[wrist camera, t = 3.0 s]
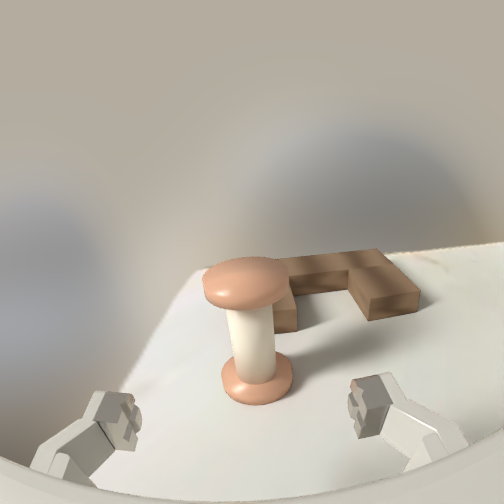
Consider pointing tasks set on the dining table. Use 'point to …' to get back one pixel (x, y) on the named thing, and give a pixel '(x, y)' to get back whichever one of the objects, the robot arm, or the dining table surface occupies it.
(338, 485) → the dining table surface
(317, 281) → the notched board
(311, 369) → the dining table surface
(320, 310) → the dining table surface
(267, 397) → the bobbin
